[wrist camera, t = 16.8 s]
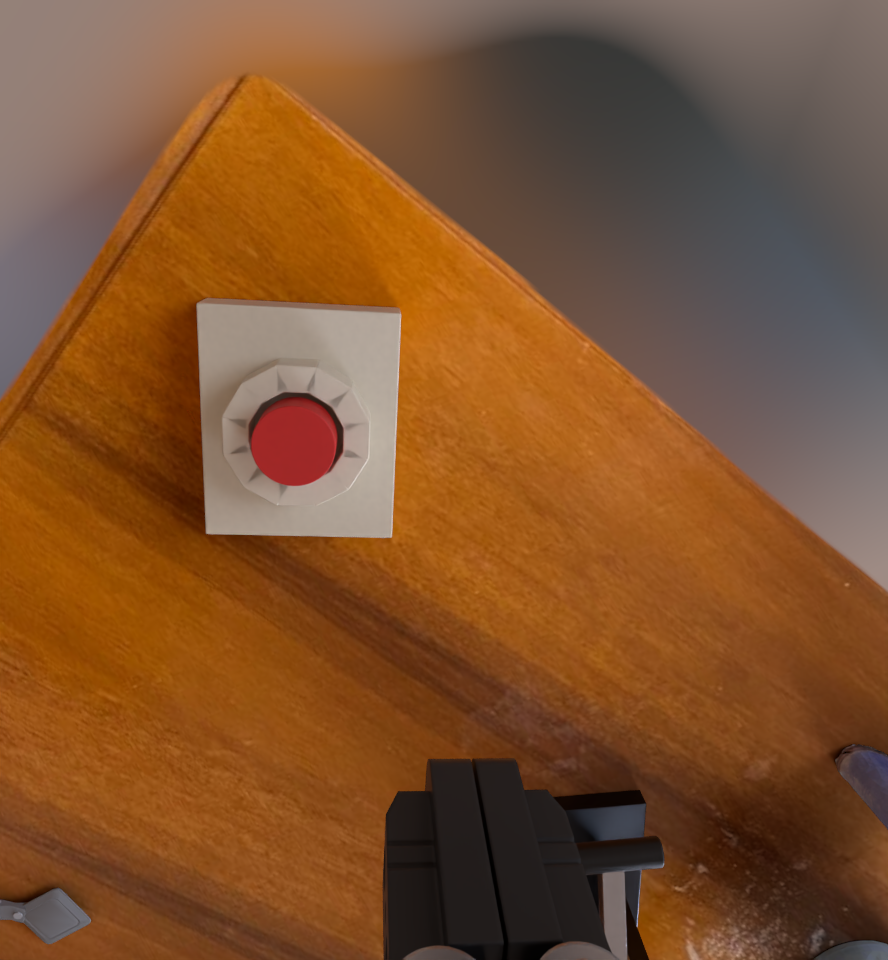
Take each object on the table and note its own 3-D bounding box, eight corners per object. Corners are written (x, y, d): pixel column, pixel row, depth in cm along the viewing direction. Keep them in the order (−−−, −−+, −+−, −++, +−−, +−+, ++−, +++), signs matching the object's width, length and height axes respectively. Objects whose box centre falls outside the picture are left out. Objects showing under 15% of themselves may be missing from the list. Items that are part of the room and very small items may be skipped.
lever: (554, 833, 39) (565, 860, 37) (650, 825, 39) (668, 850, 37) (563, 1060, 40) (575, 1100, 38) (658, 1049, 40) (675, 1089, 38)
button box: (205, 297, 36) (186, 307, 32) (399, 307, 37) (402, 318, 33) (214, 517, 39) (197, 549, 36) (390, 521, 40) (393, 553, 37)
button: (255, 394, 34) (249, 404, 32) (338, 398, 34) (336, 407, 33) (257, 472, 35) (251, 485, 34) (336, 474, 36) (335, 487, 34)
